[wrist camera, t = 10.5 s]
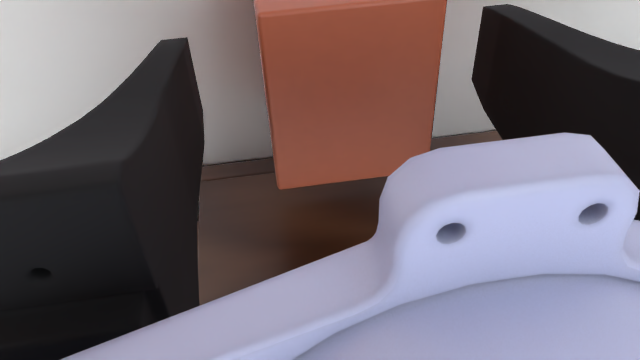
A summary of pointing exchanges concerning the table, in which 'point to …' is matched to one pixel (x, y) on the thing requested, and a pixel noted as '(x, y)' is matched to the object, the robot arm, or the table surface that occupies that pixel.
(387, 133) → the block
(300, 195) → the cabinet
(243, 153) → the table surface
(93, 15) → the table surface
